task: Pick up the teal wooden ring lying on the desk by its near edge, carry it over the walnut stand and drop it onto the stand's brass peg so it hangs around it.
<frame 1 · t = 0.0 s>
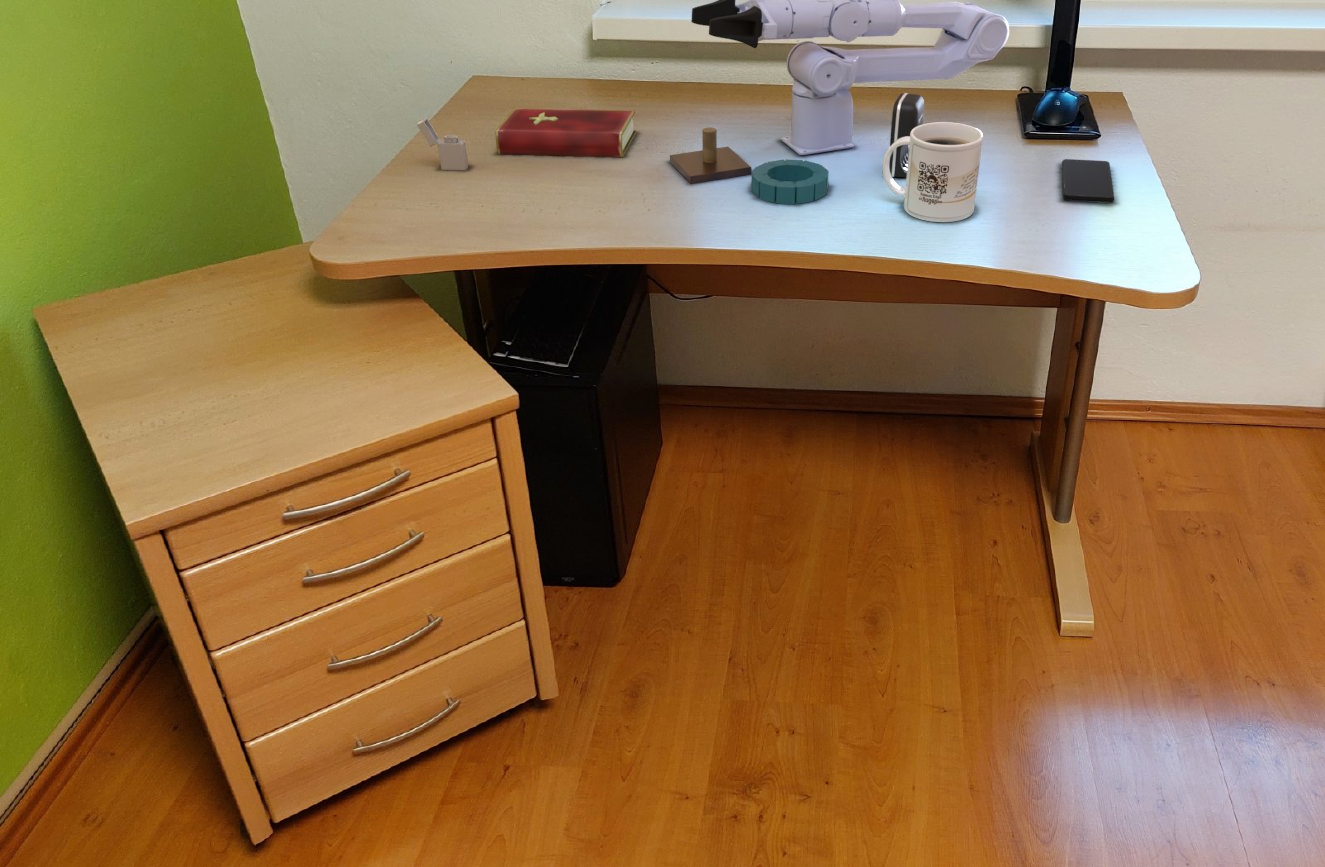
hand: (700, 21, 169), 22 cm above the table, tool horizontal, fingers open, 7 cm apart
lighter: (446, 169, 183), on the table
hardcover book: (568, 145, 190), on the table
smartphone: (1086, 184, 168), on the table
mug: (931, 208, 163), on the table
stand: (709, 168, 178), on the table
battery charger: (903, 172, 175), on the table
ring: (789, 189, 170), on the table
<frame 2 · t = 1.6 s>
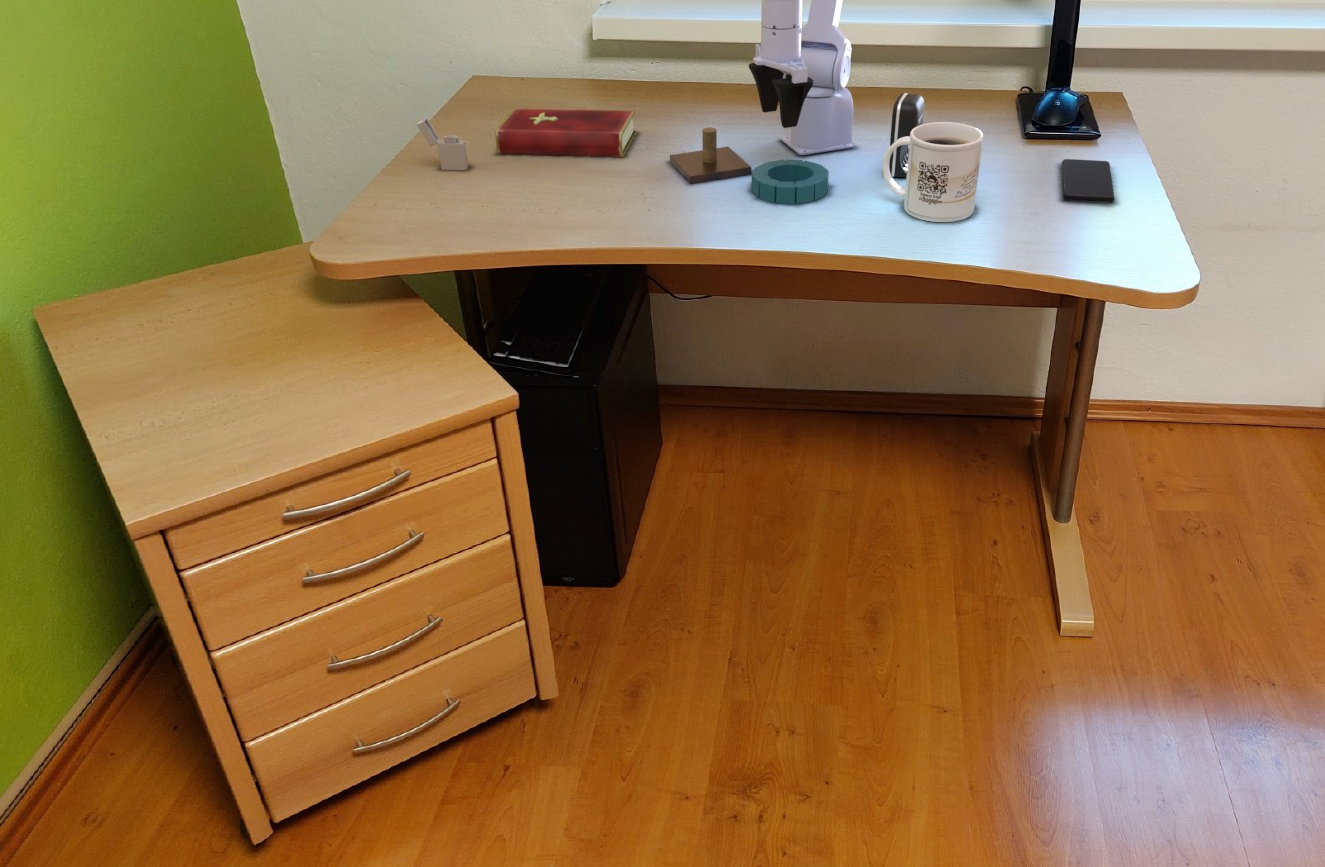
hand: (779, 118, 168), 9 cm above the table, tool pointing down, fingers open, 7 cm apart
nothing on the table moved.
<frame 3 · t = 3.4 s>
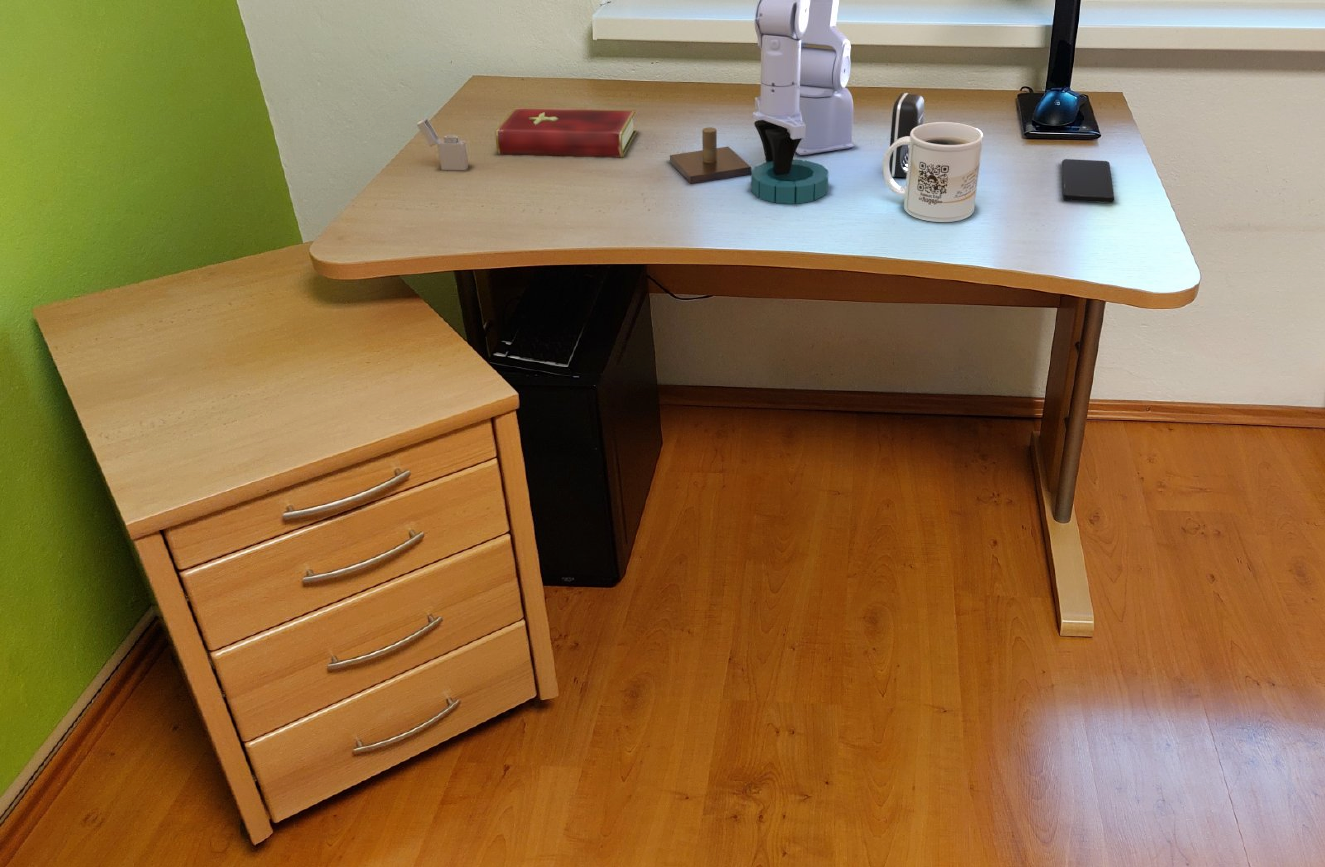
hand: (778, 170, 173), 1 cm above the table, tool pointing down, fingers closed on ring, 2 cm apart
ring: (789, 189, 170), on the table, touching gripper
everything else where it was.
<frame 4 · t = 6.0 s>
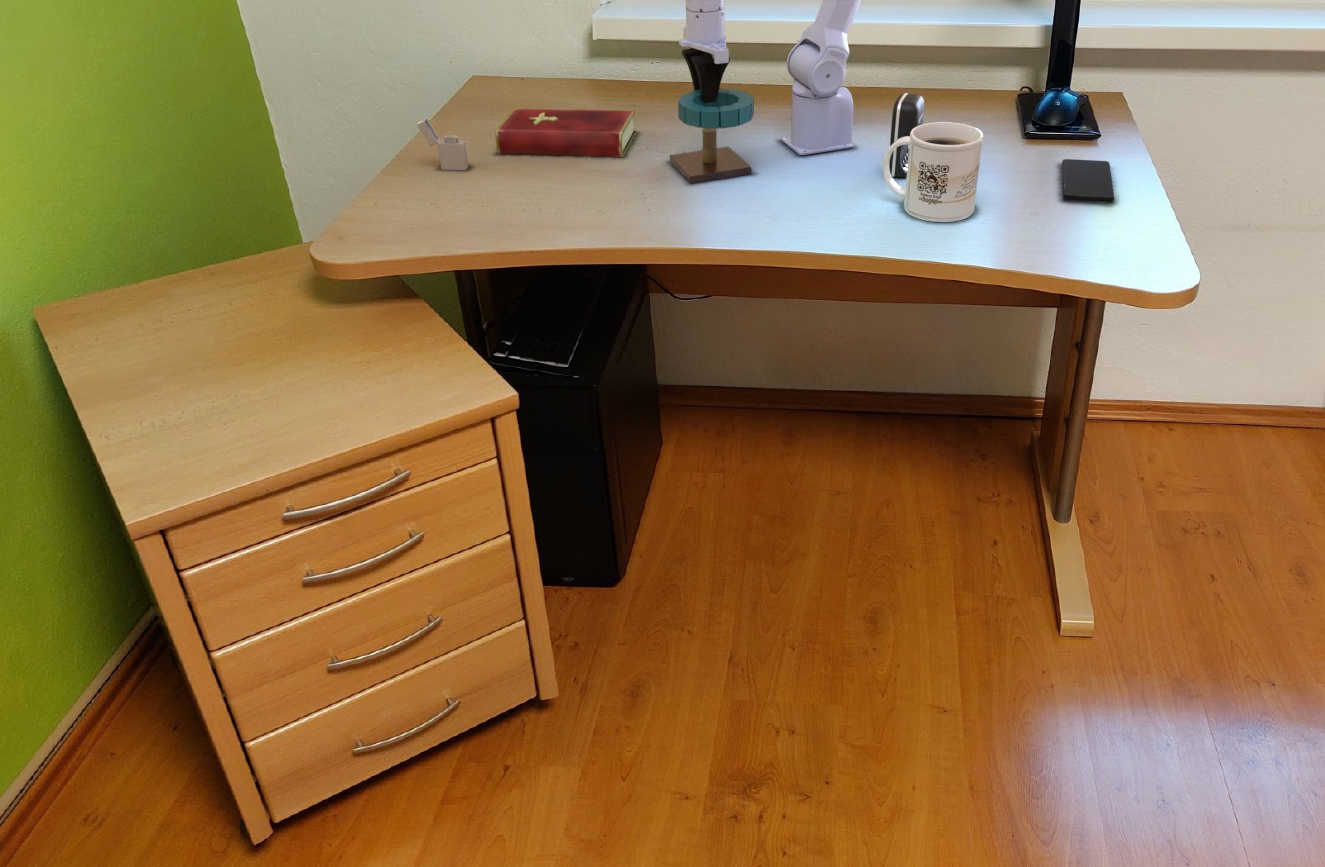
hand: (706, 99, 176), 10 cm above the table, tool pointing down, fingers closed on ring, 2 cm apart
ring: (716, 116, 173), point 9 cm above the table, touching gripper
everything else where it was.
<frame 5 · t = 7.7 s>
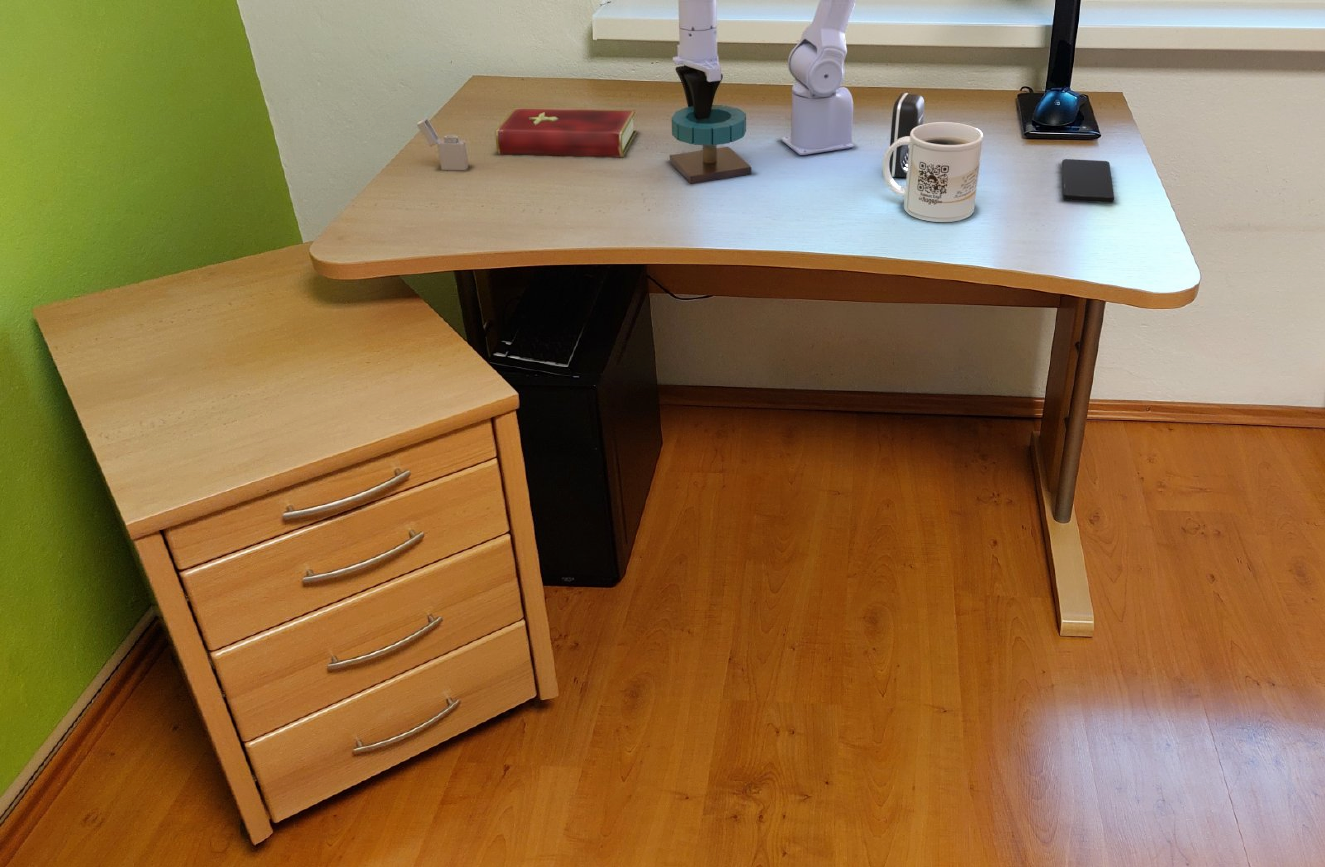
hand: (699, 115, 178), 7 cm above the table, tool pointing down, fingers closed on ring, 2 cm apart
ring: (709, 132, 175), point 6 cm above the table, touching gripper
everything else where it was.
when the fingers open (4 cm above the table, at t = 8.8 s): ring drops 2 cm, resting on stand.
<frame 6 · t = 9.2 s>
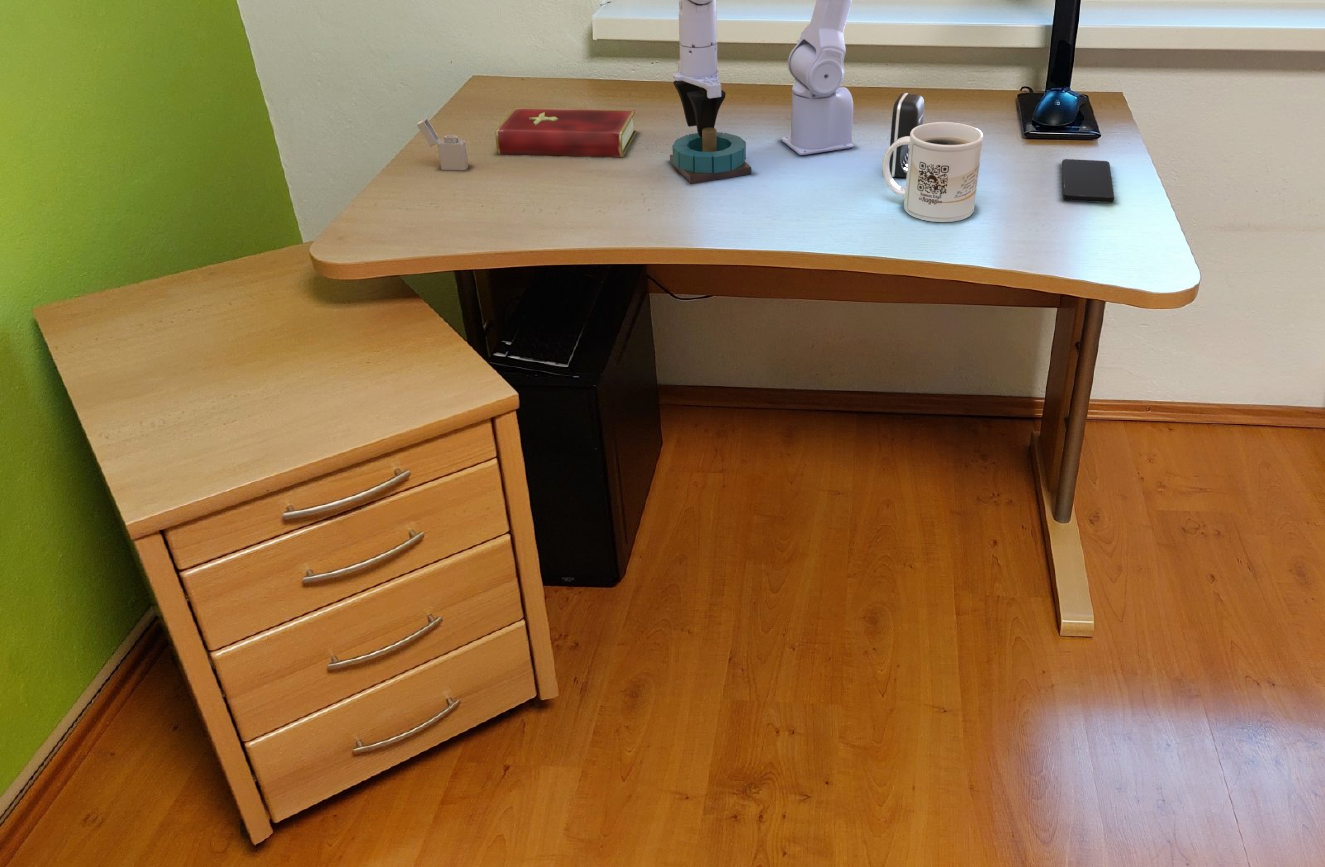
hand: (699, 130, 179), 5 cm above the table, tool pointing down, fingers open, 5 cm apart
ring: (709, 160, 178), point 1 cm above the table, touching stand
everything else where it was.
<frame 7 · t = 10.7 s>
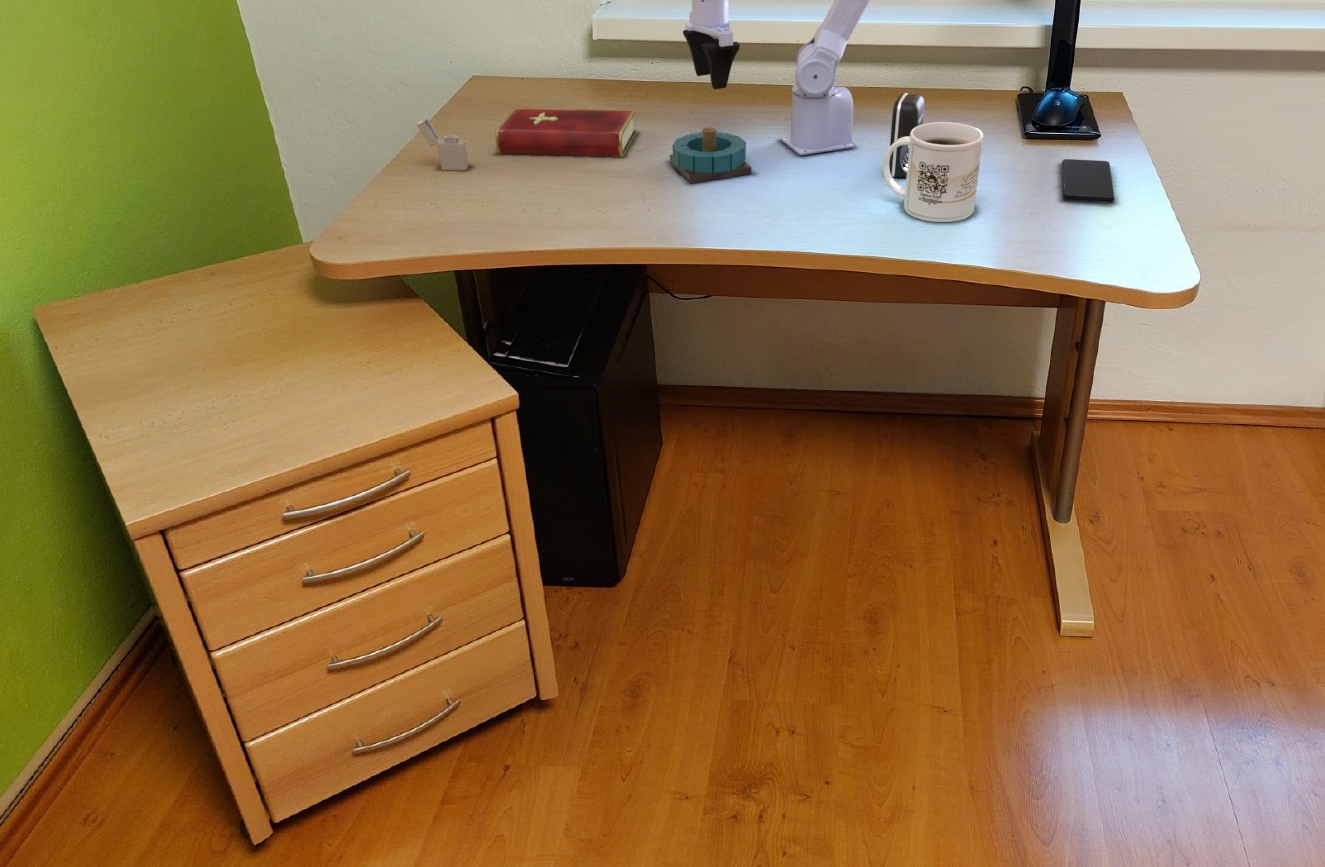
hand: (711, 81, 181), 10 cm above the table, tool pointing down, fingers open, 7 cm apart
nothing on the table moved.
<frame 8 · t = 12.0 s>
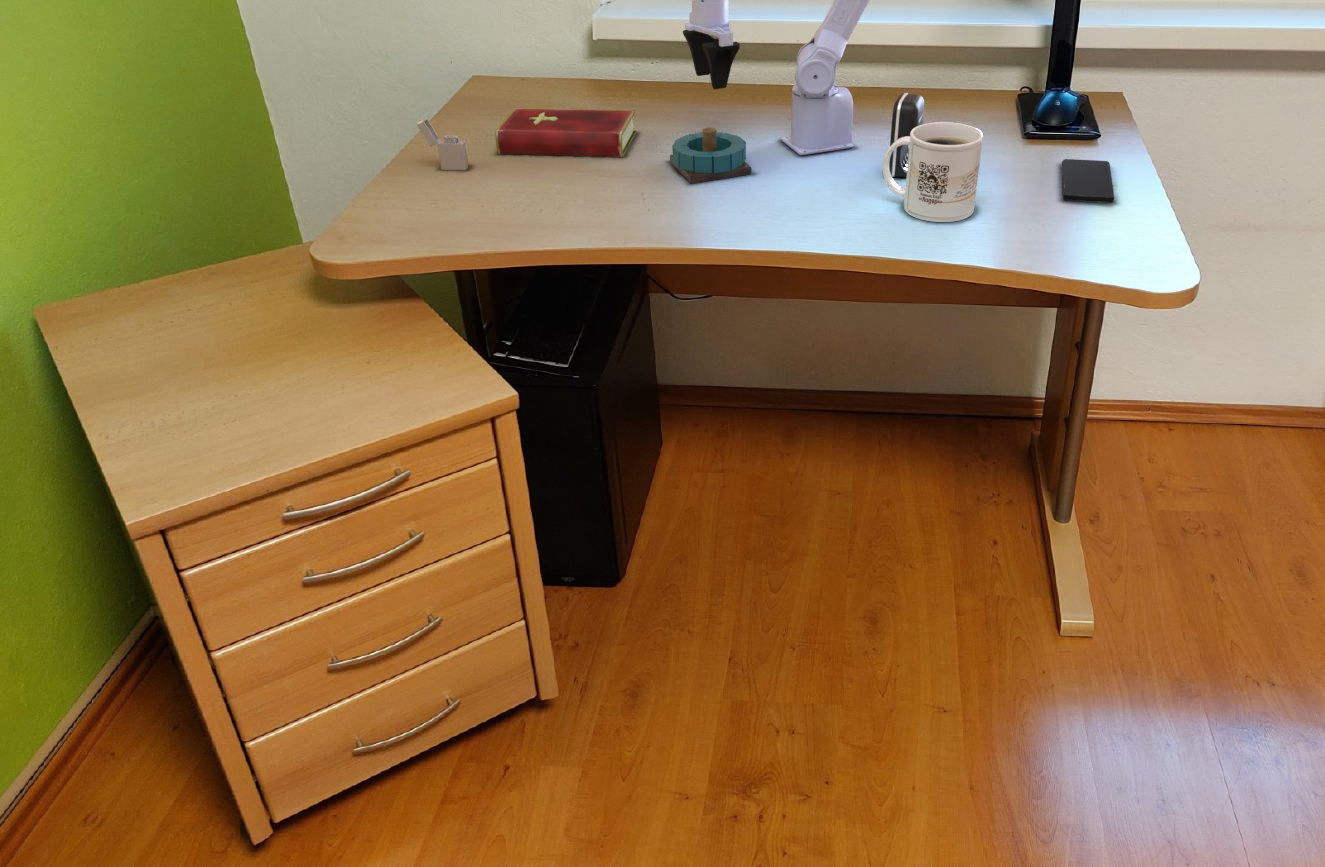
hand: (711, 81, 181), 10 cm above the table, tool pointing down, fingers open, 7 cm apart
nothing on the table moved.
at the end: ring 0.4 cm from the stand (horizontally); ring point 1.2 cm above the table; the gripper is holding nothing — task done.
